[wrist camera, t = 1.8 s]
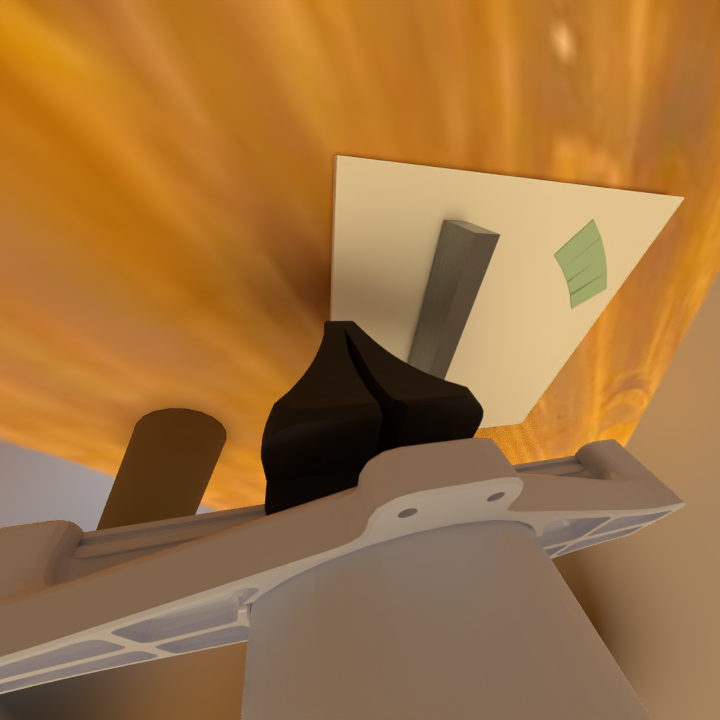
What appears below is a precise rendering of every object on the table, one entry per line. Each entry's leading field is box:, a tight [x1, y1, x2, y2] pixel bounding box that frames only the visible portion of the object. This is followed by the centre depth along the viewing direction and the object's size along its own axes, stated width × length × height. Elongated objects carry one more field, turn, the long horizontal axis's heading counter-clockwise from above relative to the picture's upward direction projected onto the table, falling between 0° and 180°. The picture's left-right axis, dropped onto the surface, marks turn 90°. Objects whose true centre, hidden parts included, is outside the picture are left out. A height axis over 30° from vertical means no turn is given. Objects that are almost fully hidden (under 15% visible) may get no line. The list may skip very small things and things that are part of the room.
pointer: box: [408, 220, 501, 380], centre depth 16 cm, size 15×3×3 cm, turn 174°
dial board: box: [330, 155, 685, 428], centre depth 19 cm, size 20×20×1 cm
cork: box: [96, 409, 226, 530], centre depth 16 cm, size 6×6×11 cm
